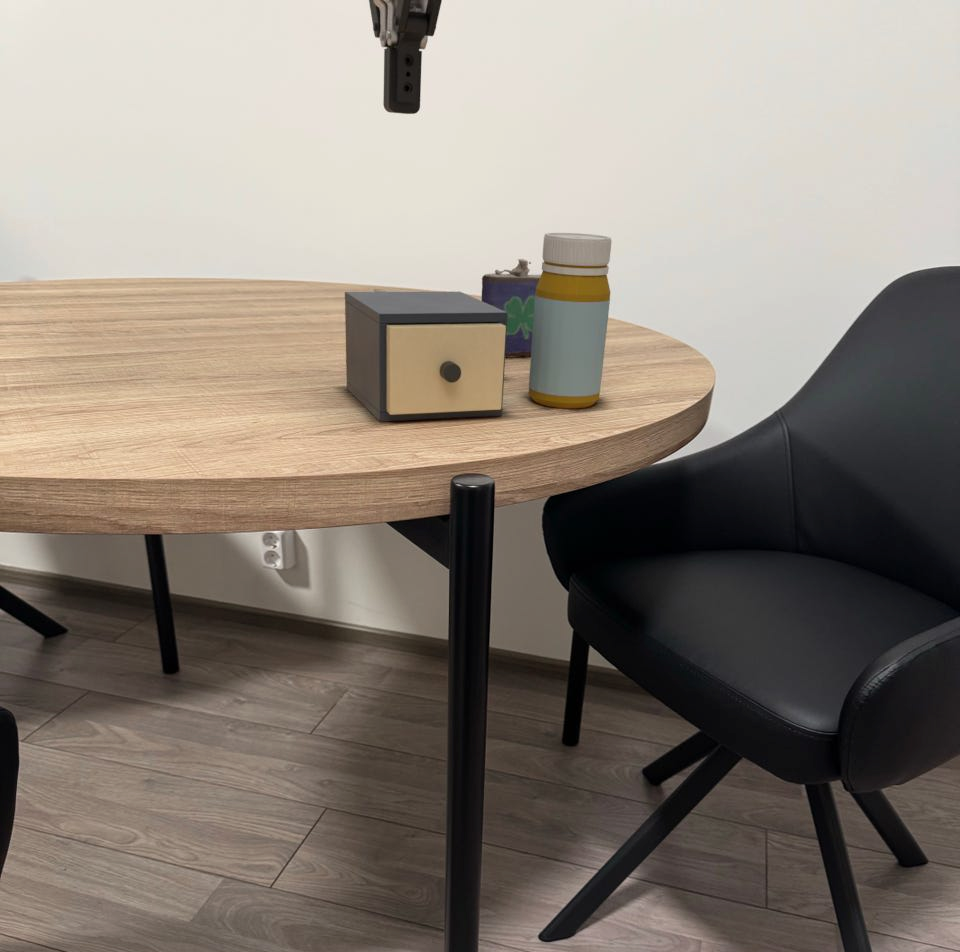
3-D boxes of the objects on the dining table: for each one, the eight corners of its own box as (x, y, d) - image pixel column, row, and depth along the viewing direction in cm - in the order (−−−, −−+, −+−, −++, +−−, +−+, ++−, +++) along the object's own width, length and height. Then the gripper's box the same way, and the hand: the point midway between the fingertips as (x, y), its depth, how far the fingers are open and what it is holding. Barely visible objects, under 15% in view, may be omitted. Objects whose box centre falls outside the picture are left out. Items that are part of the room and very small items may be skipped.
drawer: (506, 413, 84) (511, 328, 80) (393, 418, 80) (394, 330, 77) (459, 381, 94) (462, 304, 91) (358, 384, 91) (356, 305, 87)
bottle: (513, 399, 92) (524, 233, 85) (557, 389, 97) (571, 231, 90) (569, 413, 88) (585, 241, 81) (612, 402, 93) (631, 238, 86)
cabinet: (502, 415, 86) (508, 312, 82) (379, 422, 83) (379, 313, 78) (457, 384, 97) (460, 291, 93) (346, 388, 93) (344, 291, 89)
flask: (546, 351, 115) (553, 257, 110) (556, 356, 112) (564, 260, 107) (475, 353, 112) (479, 256, 107) (484, 358, 109) (489, 260, 104)
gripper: (325, -198, 61) (327, 109, 69) (376, -267, 50) (372, 107, 58) (435, -177, 63) (425, 117, 71) (507, -238, 52) (485, 117, 60)
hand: (401, 112), depth 65 cm, fingers closed
